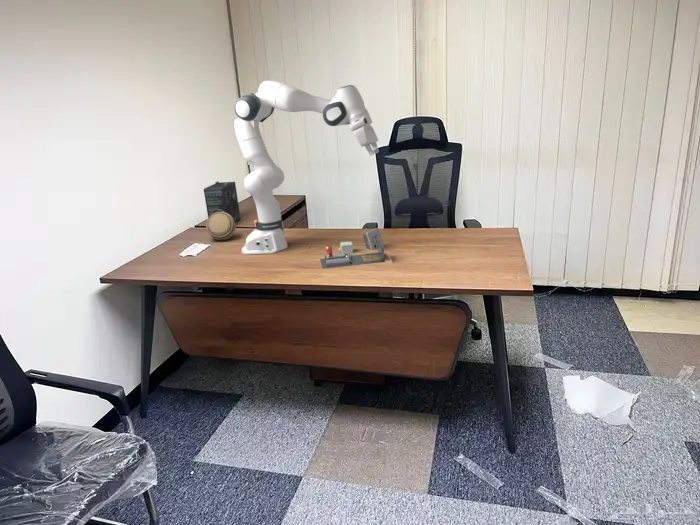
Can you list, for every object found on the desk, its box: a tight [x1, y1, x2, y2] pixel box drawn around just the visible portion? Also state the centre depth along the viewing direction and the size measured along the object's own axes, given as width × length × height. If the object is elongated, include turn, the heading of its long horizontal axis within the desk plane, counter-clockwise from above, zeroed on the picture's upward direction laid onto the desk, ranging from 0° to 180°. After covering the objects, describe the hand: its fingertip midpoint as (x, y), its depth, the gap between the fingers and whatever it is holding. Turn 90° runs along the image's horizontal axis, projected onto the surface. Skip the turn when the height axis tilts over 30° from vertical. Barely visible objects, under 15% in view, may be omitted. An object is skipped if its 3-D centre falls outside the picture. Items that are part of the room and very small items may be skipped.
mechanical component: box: [205, 212, 237, 241], centre depth 256 cm, size 15×15×15 cm
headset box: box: [203, 181, 241, 224], centre depth 285 cm, size 22×12×26 cm, turn 174°
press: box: [319, 241, 386, 270], centre depth 209 cm, size 27×13×7 cm, turn 98°
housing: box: [338, 241, 354, 254], centre depth 221 cm, size 6×5×5 cm
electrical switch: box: [362, 227, 384, 251], centre depth 225 cm, size 9×5×9 cm, turn 141°
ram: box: [325, 245, 352, 260], centre depth 208 cm, size 11×3×7 cm, turn 98°
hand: (374, 154), depth 203 cm, fingers open, 8 cm apart
